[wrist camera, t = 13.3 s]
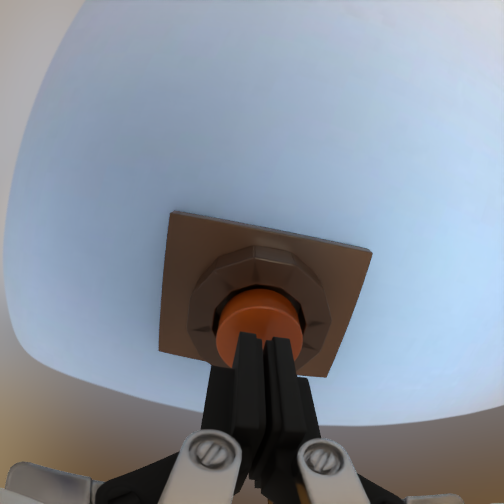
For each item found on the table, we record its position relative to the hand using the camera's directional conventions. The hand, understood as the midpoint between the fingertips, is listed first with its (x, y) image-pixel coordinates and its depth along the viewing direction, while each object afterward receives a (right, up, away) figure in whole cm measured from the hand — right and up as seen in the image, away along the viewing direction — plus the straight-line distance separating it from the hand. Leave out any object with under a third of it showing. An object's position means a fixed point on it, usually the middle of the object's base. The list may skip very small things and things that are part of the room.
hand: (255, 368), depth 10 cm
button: (0, +1, +4) cm, 4 cm away
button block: (0, +1, +6) cm, 6 cm away
